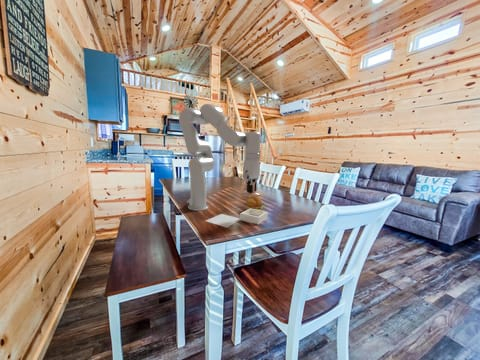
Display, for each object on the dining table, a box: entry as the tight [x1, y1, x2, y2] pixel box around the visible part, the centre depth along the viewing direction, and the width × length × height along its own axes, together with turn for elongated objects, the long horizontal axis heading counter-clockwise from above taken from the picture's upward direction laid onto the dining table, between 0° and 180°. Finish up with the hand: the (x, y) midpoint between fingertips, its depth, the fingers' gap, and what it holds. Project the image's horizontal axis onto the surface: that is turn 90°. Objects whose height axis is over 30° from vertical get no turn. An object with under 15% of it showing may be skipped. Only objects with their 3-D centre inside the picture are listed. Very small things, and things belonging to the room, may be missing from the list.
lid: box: [239, 182, 264, 198], centre depth 110 cm, size 12×12×6 cm
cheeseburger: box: [245, 196, 264, 211], centre depth 127 cm, size 10×11×10 cm
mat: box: [205, 213, 241, 228], centre depth 110 cm, size 14×14×1 cm
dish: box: [239, 208, 269, 225], centre depth 113 cm, size 11×11×4 cm
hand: (251, 191), depth 110 cm, fingers closed on lid, 3 cm apart
